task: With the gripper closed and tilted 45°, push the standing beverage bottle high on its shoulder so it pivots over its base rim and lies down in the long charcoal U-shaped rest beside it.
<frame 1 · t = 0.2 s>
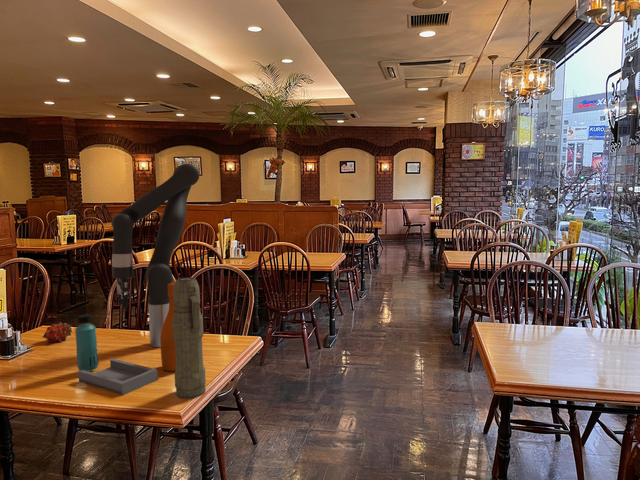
hand: (123, 306, 175), 18 cm above the table, tool pointing down, fingers open, 8 cm apart
wine bottle: (176, 367, 158), on the table
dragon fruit: (58, 341, 191), on the table
U-rest: (118, 380, 147), on the table
beverage bottle: (88, 372, 155), on the table
thermos: (191, 393, 136), on the table
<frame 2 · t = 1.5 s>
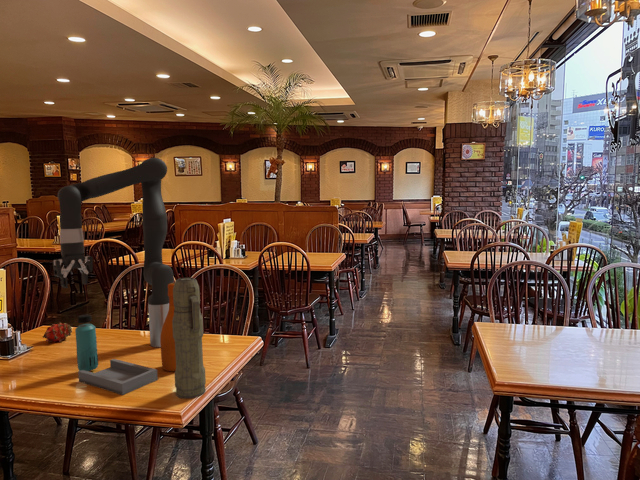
hand: (74, 285, 165), 28 cm above the table, tool pointing down, fingers open, 7 cm apart
nothing on the table moved.
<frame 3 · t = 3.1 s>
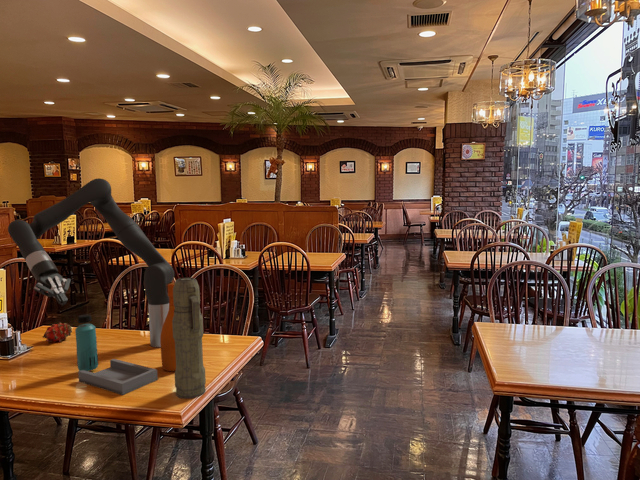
hand: (64, 303, 158), 23 cm above the table, tool tilted 45°, fingers closed
nothing on the table moved.
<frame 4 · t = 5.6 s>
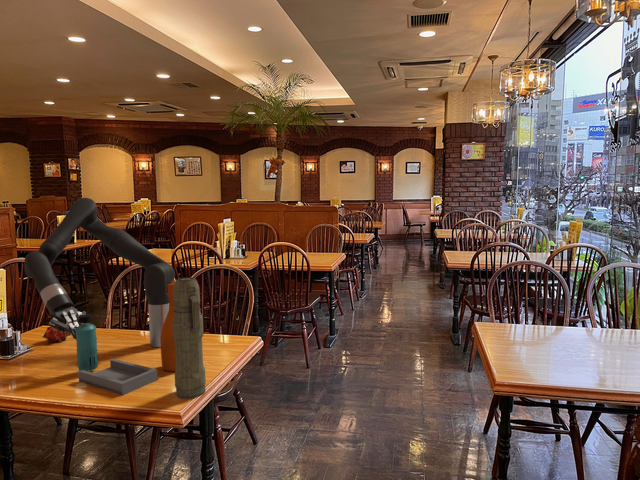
hand: (79, 338, 155), 12 cm above the table, tool tilted 45°, fingers closed
beverage bottle: (88, 372, 155), on the table, touching gripper
everything else where it was.
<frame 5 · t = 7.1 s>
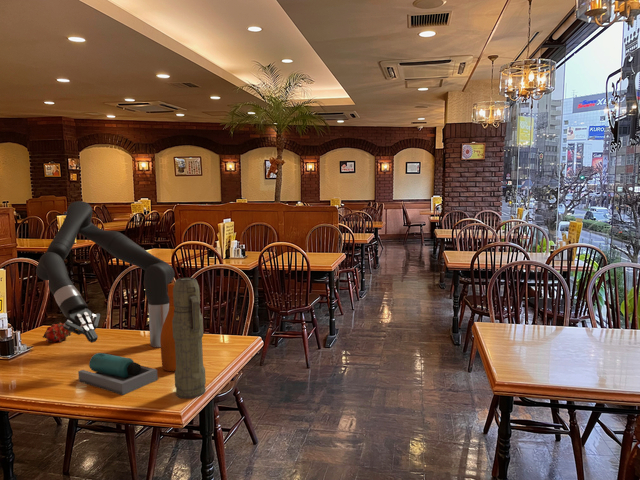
hand: (94, 340, 151), 12 cm above the table, tool tilted 45°, fingers closed
beverage bottle: (93, 361, 153), point 4 cm above the table, touching U-rest
everything else where it was.
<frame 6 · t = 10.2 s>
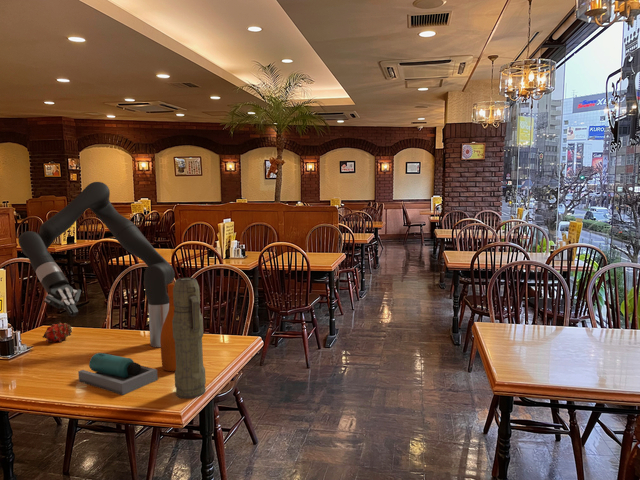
hand: (74, 314, 156), 20 cm above the table, tool tilted 45°, fingers closed
nothing on the table moved.
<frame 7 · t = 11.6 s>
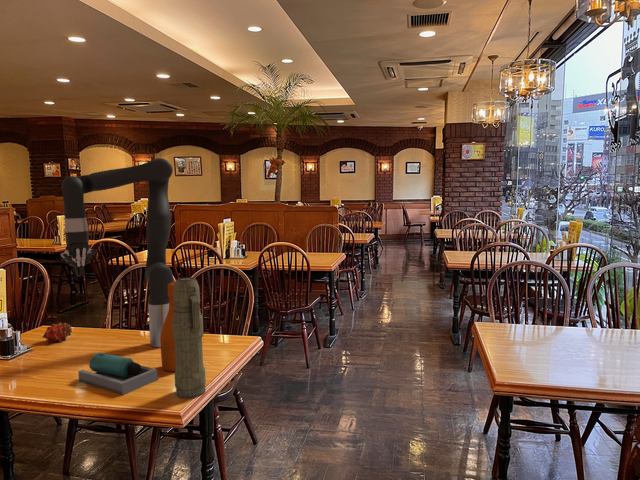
hand: (80, 276, 169), 31 cm above the table, tool pointing down, fingers closed
nothing on the table moved.
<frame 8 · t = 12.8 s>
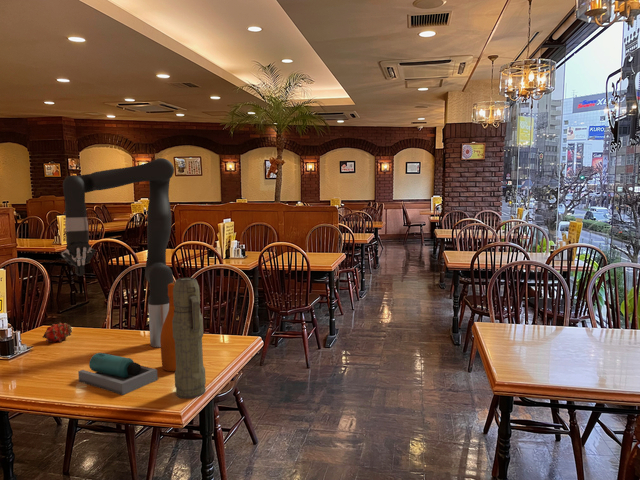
hand: (80, 275, 169), 31 cm above the table, tool pointing down, fingers closed
nothing on the table moved.
at the end: beverage bottle tilted 91°; beverage bottle touching U-rest; beverage bottle 13.2 cm from the U-rest (horizontally) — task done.
